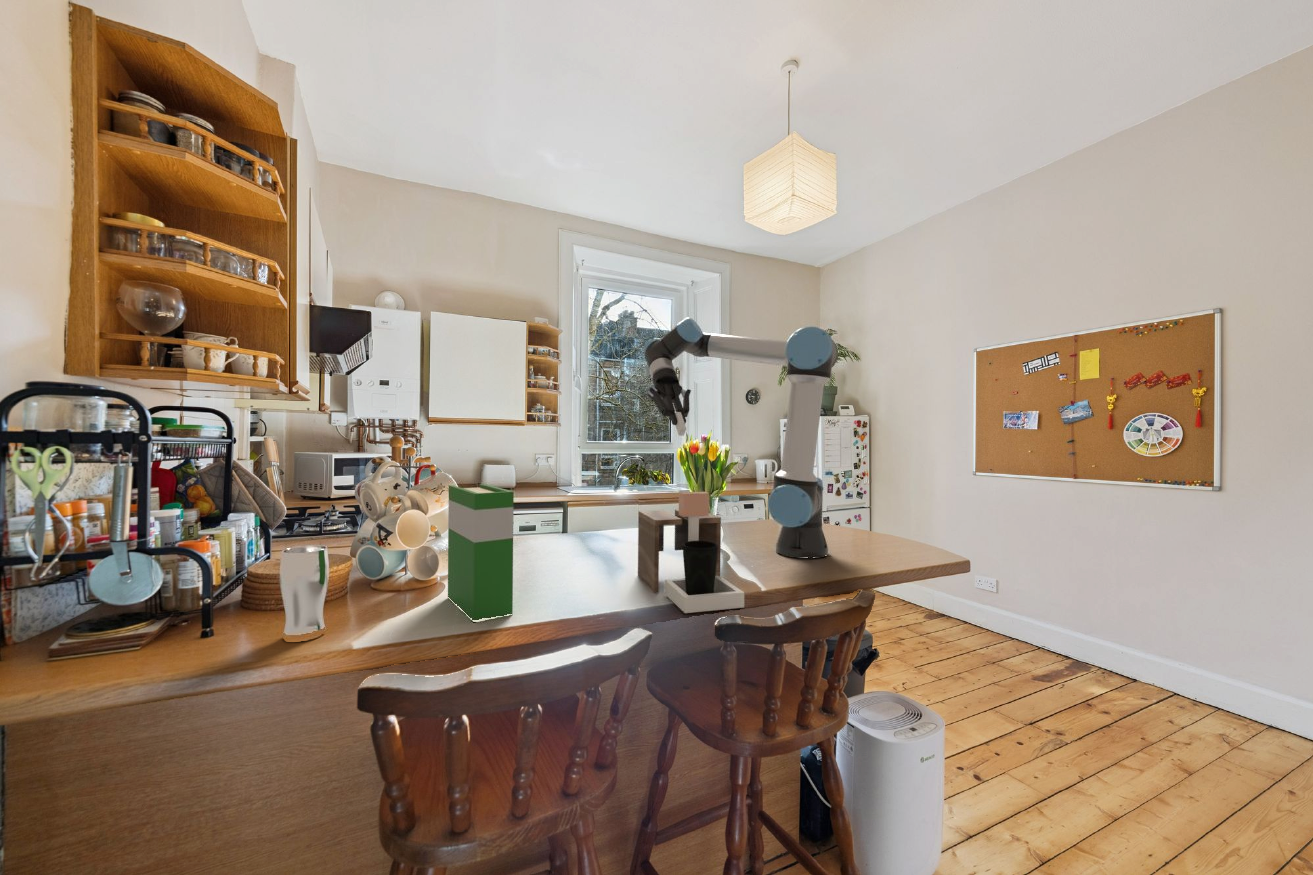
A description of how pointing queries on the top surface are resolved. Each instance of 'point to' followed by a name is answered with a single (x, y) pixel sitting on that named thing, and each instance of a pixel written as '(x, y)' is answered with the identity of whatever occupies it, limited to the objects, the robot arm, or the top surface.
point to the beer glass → (304, 587)
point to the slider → (727, 593)
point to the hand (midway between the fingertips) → (682, 431)
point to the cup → (700, 566)
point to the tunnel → (654, 540)
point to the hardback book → (481, 550)
